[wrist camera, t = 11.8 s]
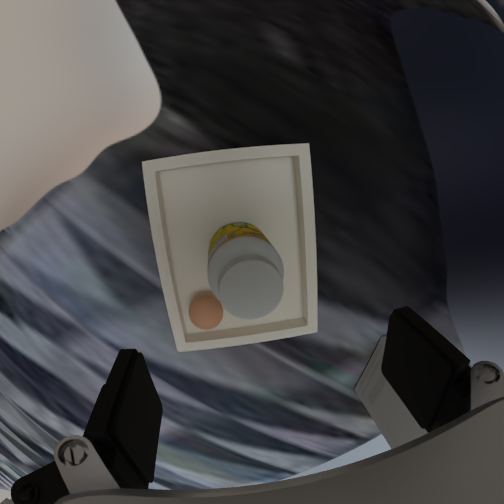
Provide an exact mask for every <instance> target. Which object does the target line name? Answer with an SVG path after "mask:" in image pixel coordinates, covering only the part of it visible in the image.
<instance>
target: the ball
mask: <svg viewBox="0 0 504 504" xmlns="http://www.w3.org/2000/svg"><path fill="white" fill-rule="evenodd" d="M189 318H190V320H191V322H192V323H193V324H194V325H195V326H196V327H198V328H200V329H204V330H209V329H213V328H215V327H216V326H218V325H219V323H220V322H221V320H222V318H223V307H222V305H221V303H220V302H219V301H218V300H217V299H216V298H215V297H213V296H209V295H202V296H199V297H197V298H195V299H194V300H193V301H192V303H191V304H190V307H189Z"/></svg>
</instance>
